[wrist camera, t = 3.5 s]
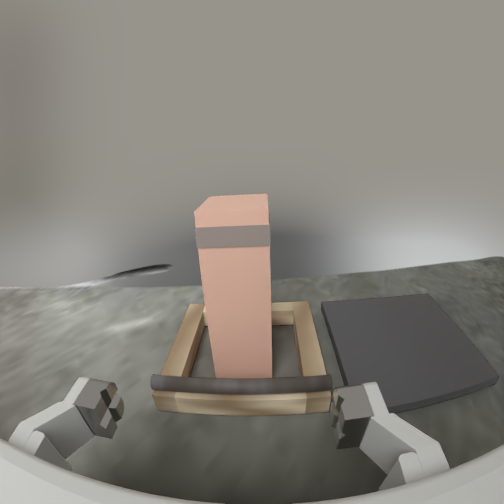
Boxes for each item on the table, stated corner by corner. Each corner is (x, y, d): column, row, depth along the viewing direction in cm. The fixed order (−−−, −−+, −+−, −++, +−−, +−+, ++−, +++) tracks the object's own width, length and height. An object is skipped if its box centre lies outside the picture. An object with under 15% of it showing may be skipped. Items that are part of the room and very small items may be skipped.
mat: (426, 299, 28) (427, 293, 28) (495, 383, 15) (499, 376, 15) (321, 308, 29) (321, 301, 28) (354, 420, 15) (356, 412, 15)
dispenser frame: (307, 315, 28) (308, 291, 27) (328, 411, 16) (333, 385, 16) (192, 317, 28) (188, 294, 27) (157, 409, 17) (148, 384, 16)
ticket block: (271, 338, 25) (267, 193, 21) (272, 379, 20) (269, 208, 16) (223, 338, 25) (209, 196, 21) (215, 379, 20) (193, 211, 16)
